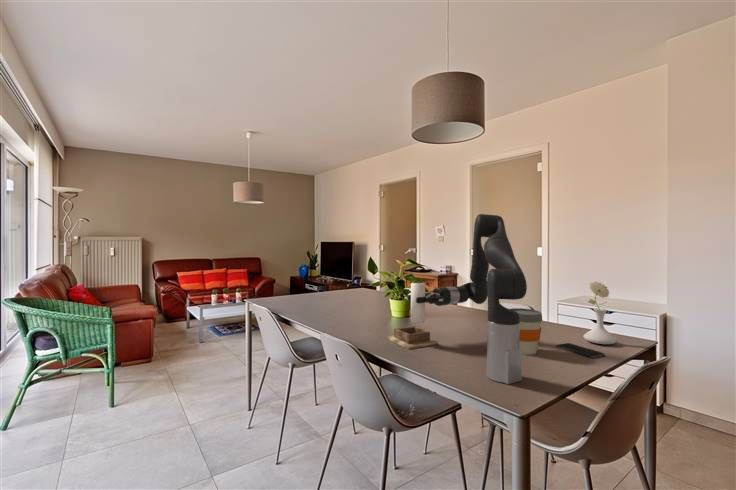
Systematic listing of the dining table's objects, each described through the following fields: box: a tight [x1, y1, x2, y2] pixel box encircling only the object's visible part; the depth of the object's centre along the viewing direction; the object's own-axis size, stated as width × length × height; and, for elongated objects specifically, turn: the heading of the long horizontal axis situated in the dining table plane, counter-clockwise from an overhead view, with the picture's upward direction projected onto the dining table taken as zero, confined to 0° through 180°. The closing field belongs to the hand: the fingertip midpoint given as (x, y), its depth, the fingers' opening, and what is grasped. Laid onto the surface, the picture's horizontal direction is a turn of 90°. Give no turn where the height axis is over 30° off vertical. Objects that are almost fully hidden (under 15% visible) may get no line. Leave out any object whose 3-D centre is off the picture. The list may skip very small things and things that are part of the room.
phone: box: [556, 342, 606, 359], centre depth 137 cm, size 8×1×15 cm
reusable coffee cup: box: [509, 307, 543, 356], centre depth 137 cm, size 12×13×15 cm
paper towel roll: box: [410, 282, 426, 324], centre depth 145 cm, size 6×6×15 cm
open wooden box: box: [386, 325, 439, 350], centre depth 148 cm, size 16×14×4 cm
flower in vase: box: [583, 280, 617, 345], centre depth 149 cm, size 13×11×25 cm
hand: (412, 299), depth 144 cm, fingers closed on paper towel roll, 5 cm apart
